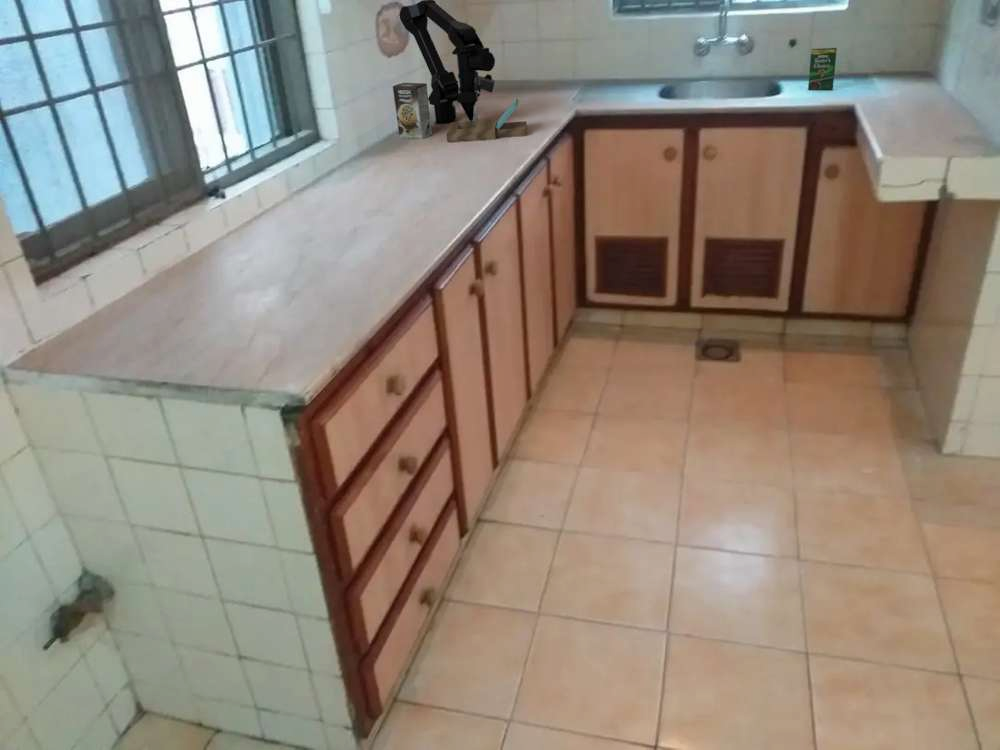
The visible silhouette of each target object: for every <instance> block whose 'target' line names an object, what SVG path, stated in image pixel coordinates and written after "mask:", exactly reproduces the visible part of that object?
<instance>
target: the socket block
mask: <svg viewBox="0 0 1000 750" xmlns="http://www.w3.org/2000/svg"><path fill="white" fill-rule="evenodd" d="M498 120H499V119H497V118H496V119H482V120H479V119H478V121H466V120H464V121H454V122H451V123H449V127H448V128H447V130H446V143H447V142H449V143H460V142H459V141H464V142H474V141H473V140H479V141H487V140H486V139H494V140H496V139H497V137H501V138H511V136H516V137H526V136H527V130H528V127H527V126H528V125H527V124H528V123H527V121H510V122H509V121H508V122H504V123H503V125H502V126H501V127H500V128H499V129H497V128H496V127H497V123H498ZM496 135H497V136H496Z"/></svg>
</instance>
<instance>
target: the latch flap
mask: <svg viewBox="0 0 1000 750" xmlns="http://www.w3.org/2000/svg"><path fill="white" fill-rule="evenodd" d="M518 104H519V99H518V98H516V99H515V100H514V101H513V102H512V103H511V105H510V106H509V107H508V108H507V109H506V111H505V112H504V113H503V114H502V116H501V117H500V118H499V119H498V123H497V127H496V128H497V129H499V128H500V127H501V126H502V125H503V123H506V121H507V120H508V119H509V118H510V117H511V115H512V114H513V112H515V111H516V109H517V108H518Z"/></svg>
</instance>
